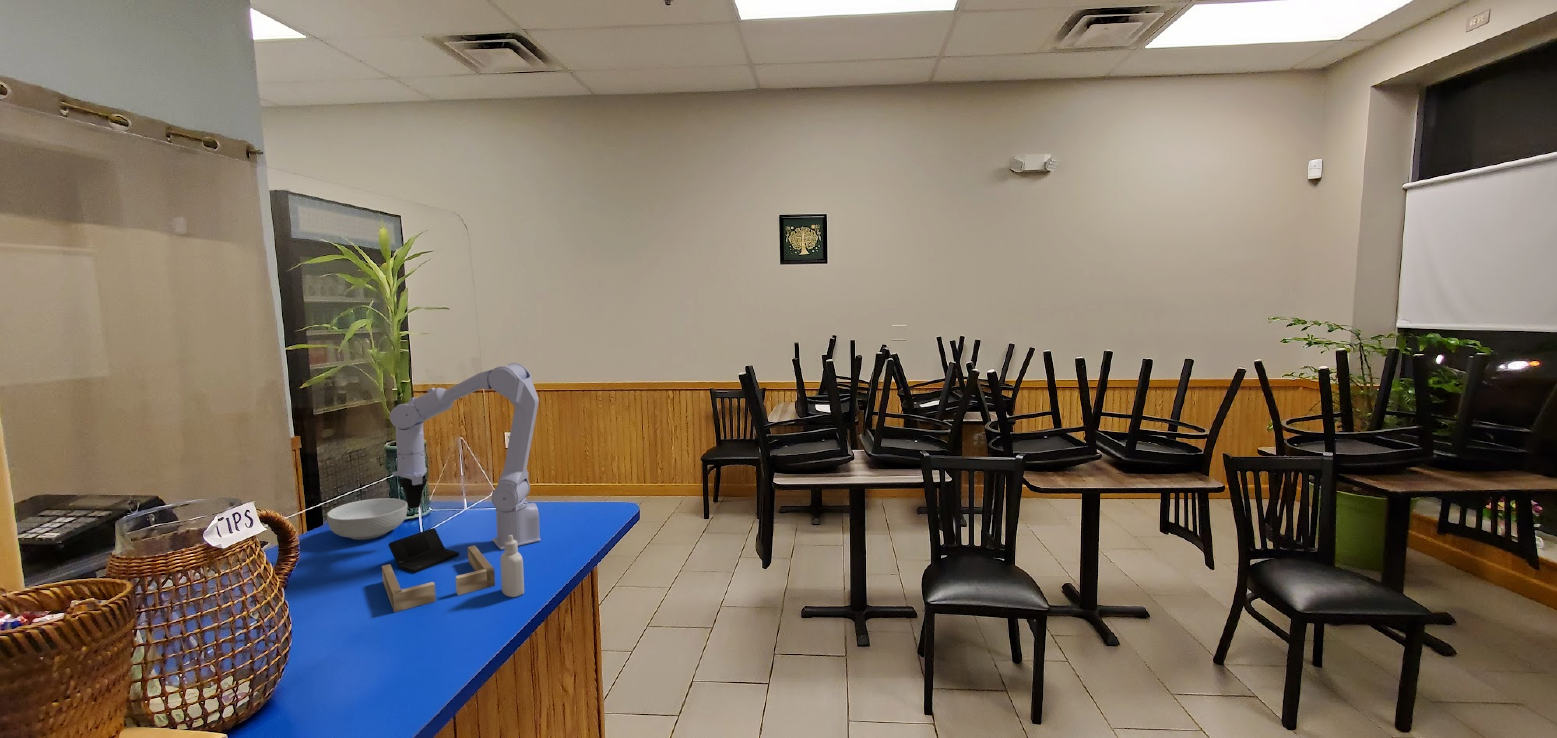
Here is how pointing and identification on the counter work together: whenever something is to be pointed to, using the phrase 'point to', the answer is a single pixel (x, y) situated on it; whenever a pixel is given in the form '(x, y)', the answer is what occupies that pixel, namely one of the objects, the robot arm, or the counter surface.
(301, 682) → the counter surface
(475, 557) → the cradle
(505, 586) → the eye dropper bottle
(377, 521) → the cereal bowl
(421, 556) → the handheld gaming console
